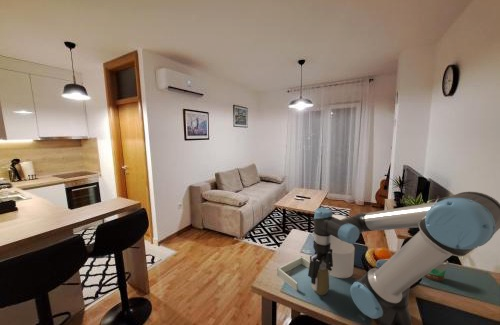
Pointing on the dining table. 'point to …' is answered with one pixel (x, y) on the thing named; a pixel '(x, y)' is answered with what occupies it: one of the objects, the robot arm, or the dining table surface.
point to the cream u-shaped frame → (288, 267)
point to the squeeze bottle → (322, 280)
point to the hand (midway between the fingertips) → (320, 284)
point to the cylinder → (341, 256)
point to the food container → (438, 272)
